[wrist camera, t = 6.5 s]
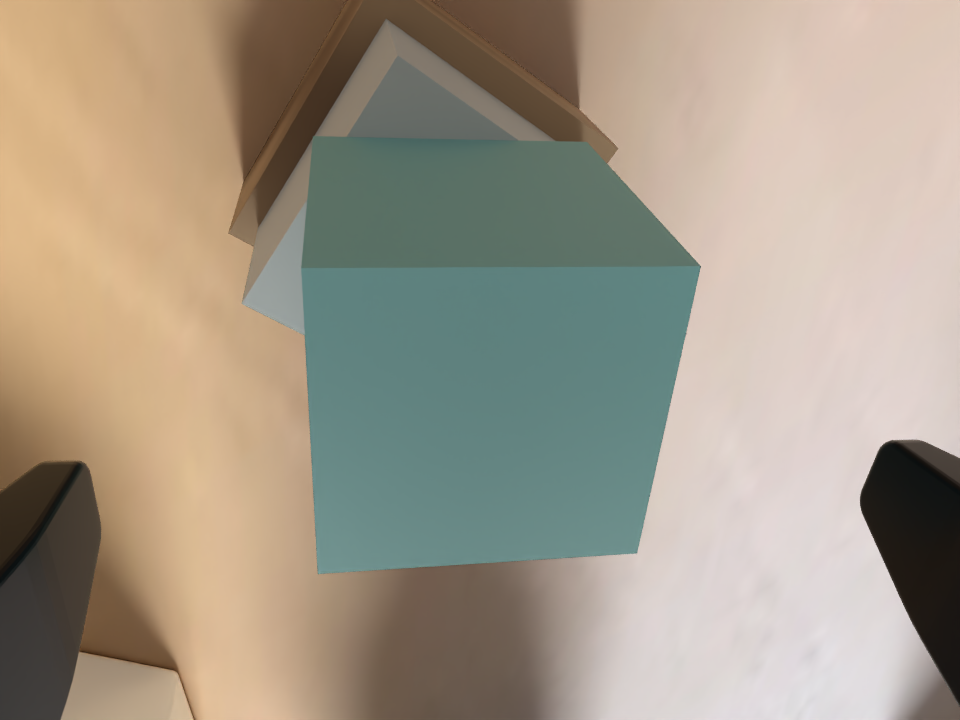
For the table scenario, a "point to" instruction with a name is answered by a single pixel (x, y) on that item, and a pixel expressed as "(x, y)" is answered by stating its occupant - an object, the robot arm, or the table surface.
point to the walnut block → (339, 57)
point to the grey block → (380, 114)
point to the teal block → (483, 351)
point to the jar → (124, 691)
